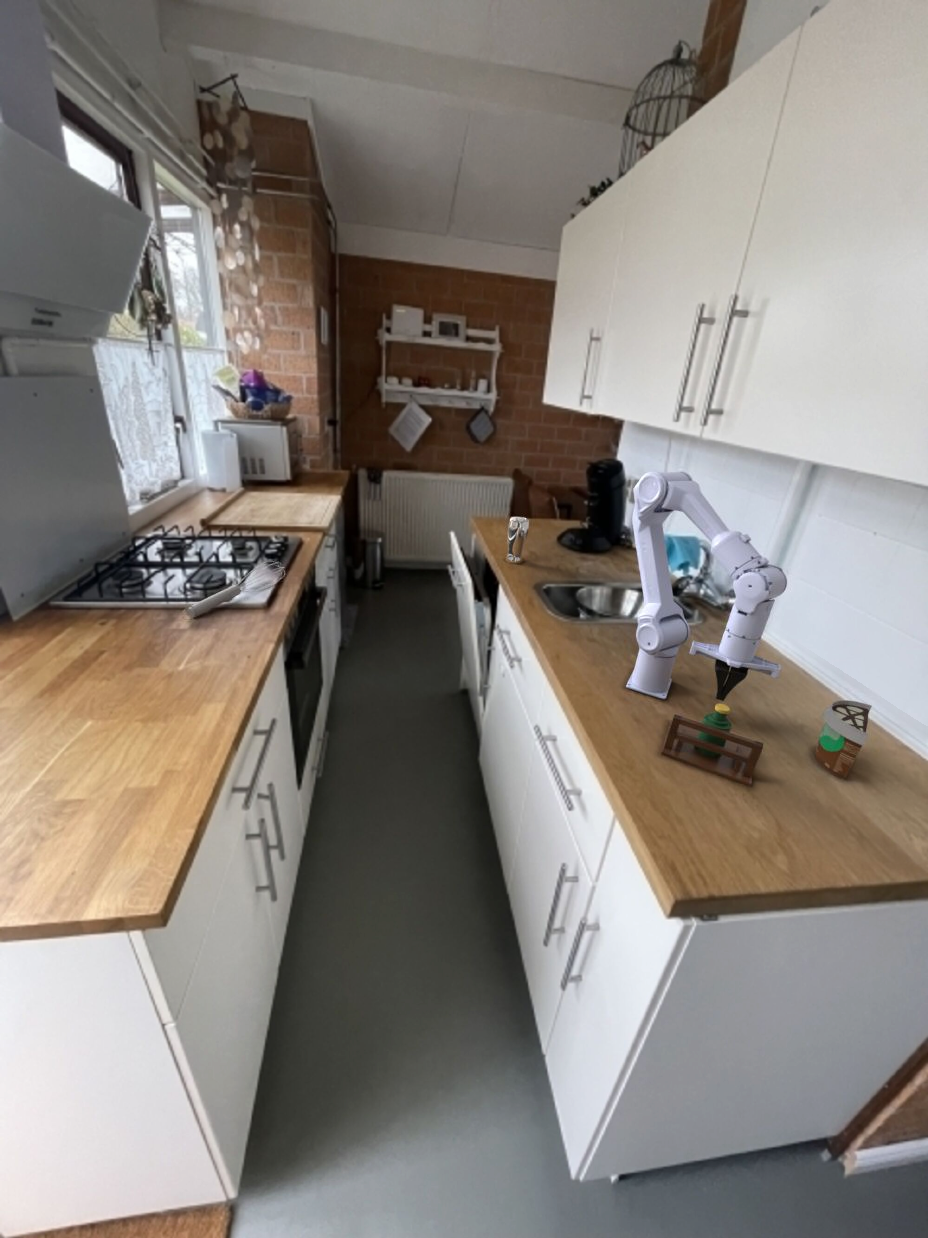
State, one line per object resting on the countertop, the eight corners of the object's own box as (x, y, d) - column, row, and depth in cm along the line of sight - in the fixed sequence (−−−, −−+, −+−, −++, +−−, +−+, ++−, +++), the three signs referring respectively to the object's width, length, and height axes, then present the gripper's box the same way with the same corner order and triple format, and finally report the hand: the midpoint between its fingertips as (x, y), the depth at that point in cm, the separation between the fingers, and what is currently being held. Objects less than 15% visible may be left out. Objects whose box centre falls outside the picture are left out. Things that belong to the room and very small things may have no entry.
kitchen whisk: (172, 618, 118) (168, 593, 115) (273, 577, 147) (271, 556, 144) (193, 624, 116) (189, 599, 113) (290, 581, 145) (289, 560, 142)
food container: (811, 735, 97) (831, 690, 93) (849, 750, 93) (872, 704, 89) (801, 766, 88) (823, 718, 84) (843, 784, 85) (868, 735, 80)
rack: (669, 722, 97) (679, 691, 94) (751, 749, 91) (764, 717, 88) (660, 754, 88) (671, 720, 85) (750, 786, 82) (764, 752, 79)
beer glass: (503, 562, 177) (508, 519, 171) (504, 556, 184) (510, 515, 177) (523, 565, 176) (529, 522, 170) (524, 559, 183) (530, 517, 177)
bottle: (695, 738, 92) (709, 697, 88) (722, 747, 90) (737, 705, 86) (693, 751, 88) (707, 709, 84) (720, 761, 86) (736, 718, 83)
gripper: (697, 628, 89) (676, 694, 95) (791, 653, 83) (763, 721, 89) (700, 615, 95) (681, 678, 100) (789, 638, 89) (763, 703, 95)
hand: (719, 697), depth 95 cm, fingers closed
